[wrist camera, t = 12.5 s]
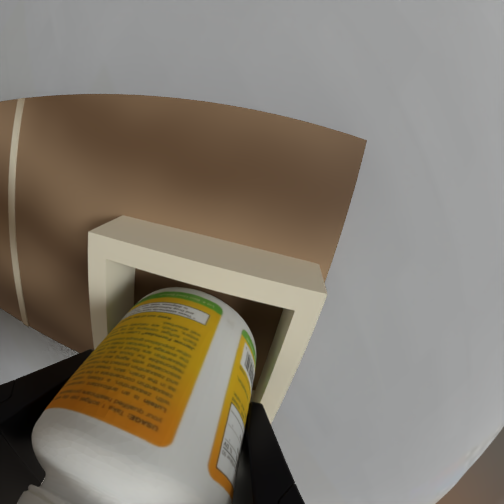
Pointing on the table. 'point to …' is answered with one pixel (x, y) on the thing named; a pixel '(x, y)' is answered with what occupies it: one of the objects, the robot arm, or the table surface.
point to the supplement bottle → (152, 409)
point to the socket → (207, 286)
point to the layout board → (159, 195)
